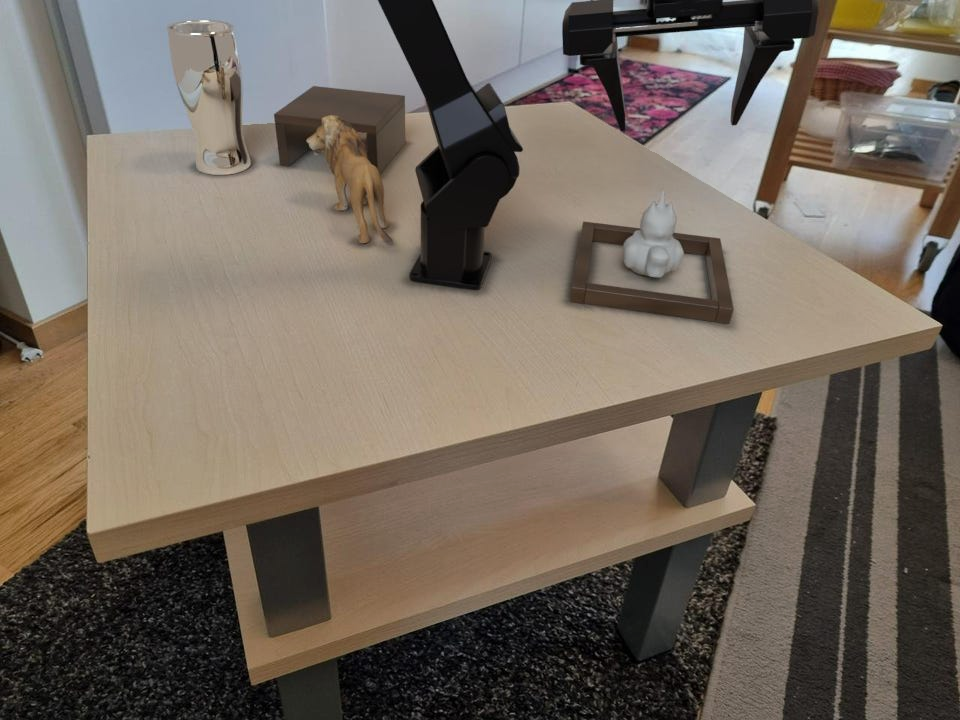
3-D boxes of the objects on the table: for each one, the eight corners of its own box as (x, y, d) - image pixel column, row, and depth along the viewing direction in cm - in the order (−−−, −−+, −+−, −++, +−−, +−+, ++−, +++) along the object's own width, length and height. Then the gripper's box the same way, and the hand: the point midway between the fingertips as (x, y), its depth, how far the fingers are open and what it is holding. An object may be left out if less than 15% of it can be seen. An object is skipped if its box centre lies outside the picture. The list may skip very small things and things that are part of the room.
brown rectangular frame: (729, 324, 60) (733, 309, 60) (569, 302, 62) (571, 287, 61) (716, 251, 71) (720, 238, 70) (581, 234, 73) (583, 221, 72)
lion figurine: (308, 197, 77) (299, 113, 72) (353, 188, 79) (348, 107, 74) (368, 254, 67) (363, 162, 62) (417, 242, 70) (417, 152, 64)
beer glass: (232, 180, 80) (208, 36, 71) (179, 170, 81) (149, 28, 72) (266, 160, 85) (248, 24, 76) (216, 151, 87) (193, 16, 78)
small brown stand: (377, 177, 82) (375, 125, 79) (279, 165, 84) (273, 114, 80) (405, 142, 92) (405, 95, 88) (317, 132, 93) (313, 85, 90)
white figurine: (671, 260, 69) (689, 182, 65) (683, 295, 64) (704, 212, 59) (615, 256, 69) (629, 178, 65) (623, 291, 64) (639, 208, 59)
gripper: (804, -113, 56) (776, 89, 66) (566, -86, 60) (572, 101, 69) (837, -94, 48) (800, 134, 57) (557, -64, 51) (566, 146, 61)
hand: (677, 126), depth 61 cm, fingers open, 9 cm apart
